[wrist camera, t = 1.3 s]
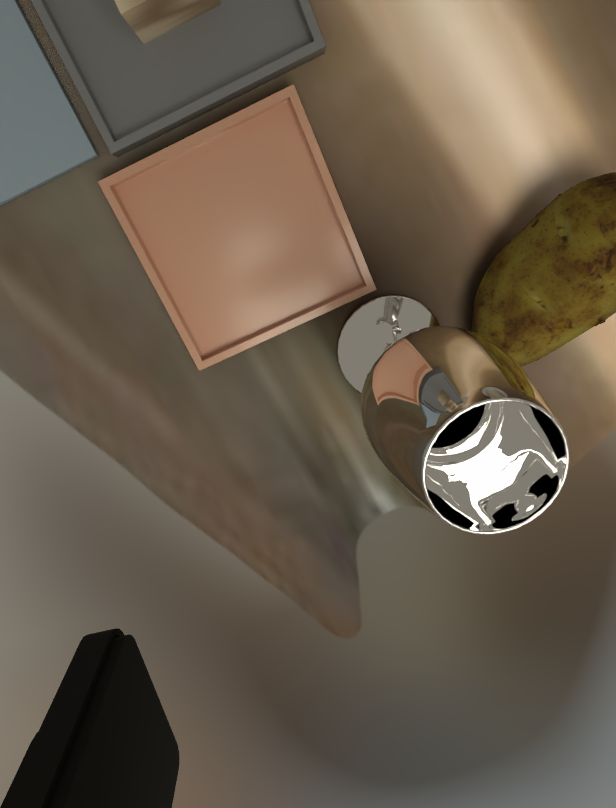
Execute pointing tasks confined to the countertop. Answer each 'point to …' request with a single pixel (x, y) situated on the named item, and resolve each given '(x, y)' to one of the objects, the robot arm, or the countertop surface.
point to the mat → (33, 112)
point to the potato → (553, 275)
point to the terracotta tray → (241, 229)
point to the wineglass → (452, 417)
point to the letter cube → (161, 15)
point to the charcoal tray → (174, 61)
